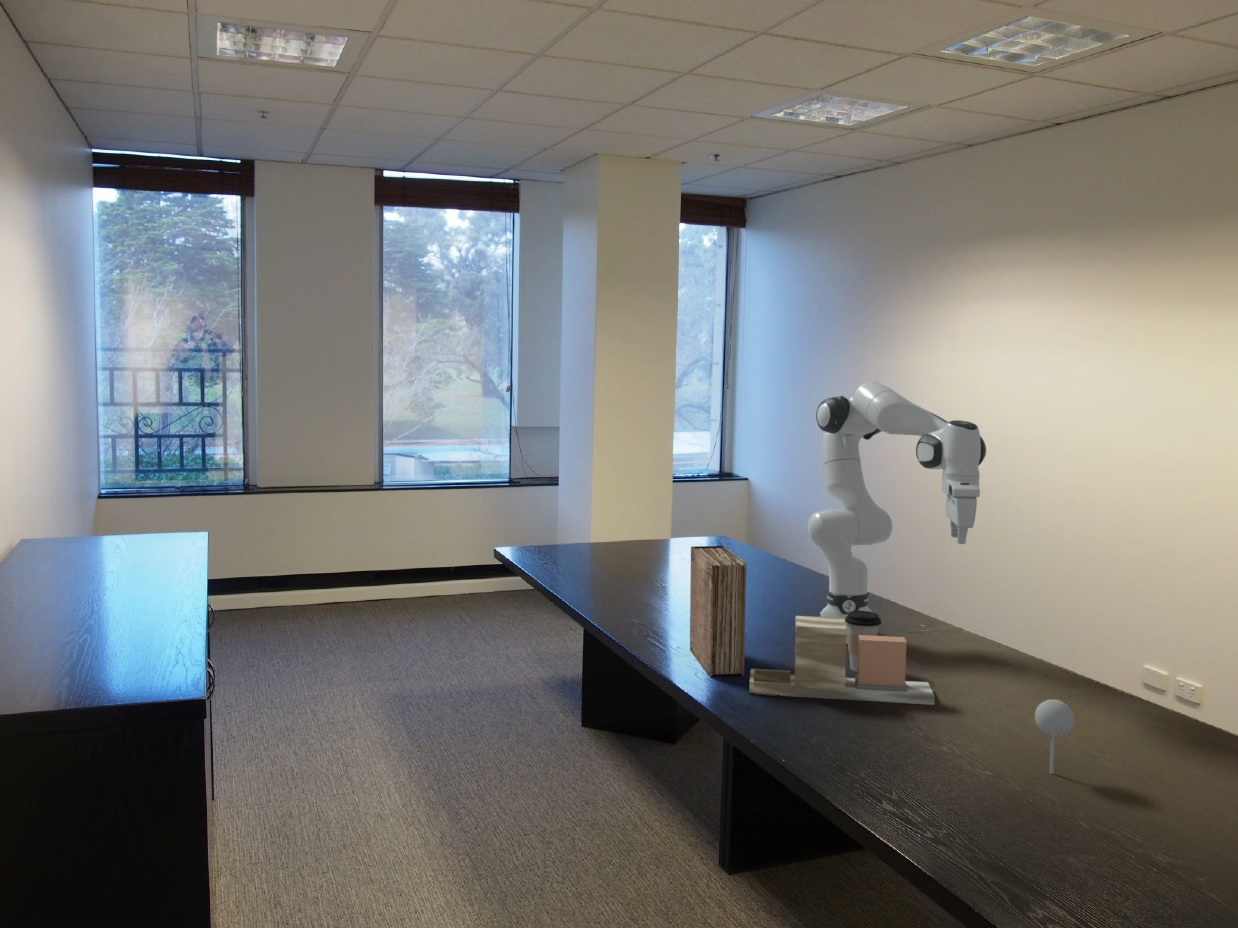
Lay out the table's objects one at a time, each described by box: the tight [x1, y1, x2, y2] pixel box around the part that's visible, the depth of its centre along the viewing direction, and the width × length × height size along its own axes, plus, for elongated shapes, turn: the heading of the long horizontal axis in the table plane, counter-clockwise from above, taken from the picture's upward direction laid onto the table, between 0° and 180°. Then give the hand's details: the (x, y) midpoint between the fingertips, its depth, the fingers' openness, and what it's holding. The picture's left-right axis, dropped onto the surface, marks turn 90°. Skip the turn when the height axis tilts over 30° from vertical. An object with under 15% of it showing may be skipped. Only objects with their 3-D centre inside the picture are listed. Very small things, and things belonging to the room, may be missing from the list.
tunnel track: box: [748, 615, 936, 705], centre depth 244 cm, size 11×44×18 cm, turn 81°
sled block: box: [854, 635, 907, 691], centre depth 243 cm, size 6×12×12 cm, turn 81°
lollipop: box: [1034, 699, 1075, 775], centre depth 196 cm, size 7×7×15 cm
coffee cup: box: [845, 611, 882, 673], centre depth 263 cm, size 9×9×15 cm
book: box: [689, 545, 747, 678], centre depth 267 cm, size 25×9×30 cm, turn 8°
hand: (958, 540), depth 249 cm, fingers open, 8 cm apart
